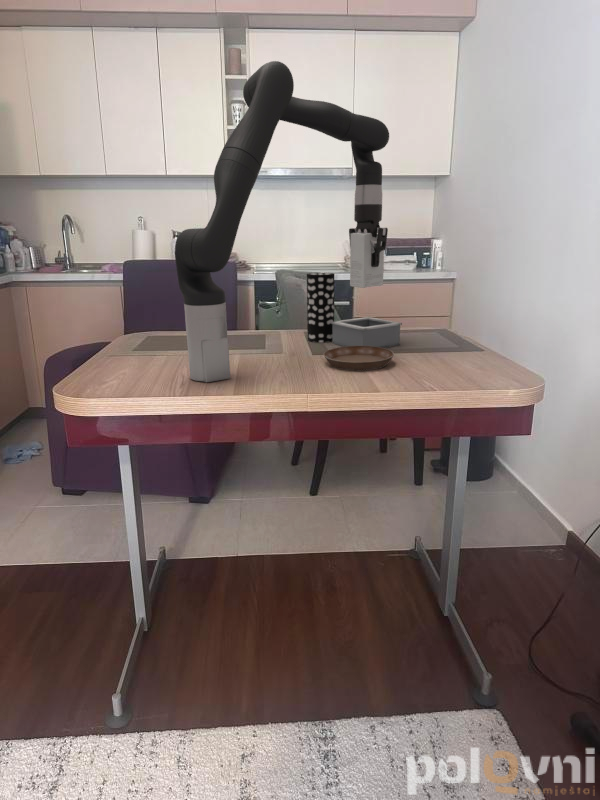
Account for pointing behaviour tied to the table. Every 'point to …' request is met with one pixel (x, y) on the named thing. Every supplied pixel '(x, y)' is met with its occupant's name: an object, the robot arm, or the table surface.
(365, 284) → the skincare box
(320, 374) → the table surface
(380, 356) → the plant saucer
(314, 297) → the white-spotted black cylinder
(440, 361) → the table surface
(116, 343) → the table surface
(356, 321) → the bin
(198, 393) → the table surface
